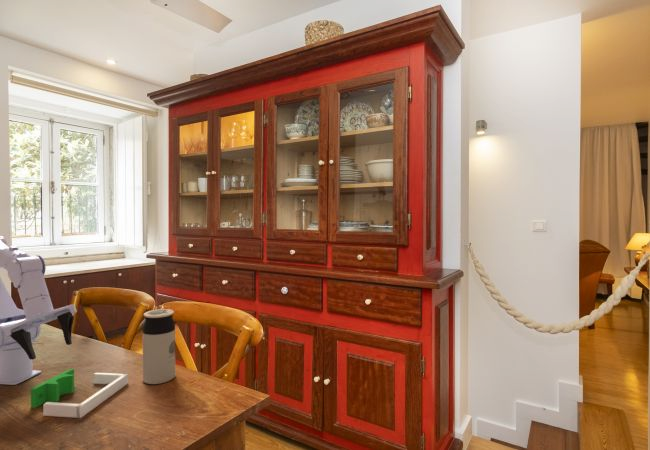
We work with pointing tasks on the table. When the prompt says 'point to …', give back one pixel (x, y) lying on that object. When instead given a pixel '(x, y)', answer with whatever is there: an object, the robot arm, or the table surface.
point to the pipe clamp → (53, 388)
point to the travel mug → (158, 346)
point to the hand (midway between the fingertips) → (51, 351)
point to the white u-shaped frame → (82, 409)
